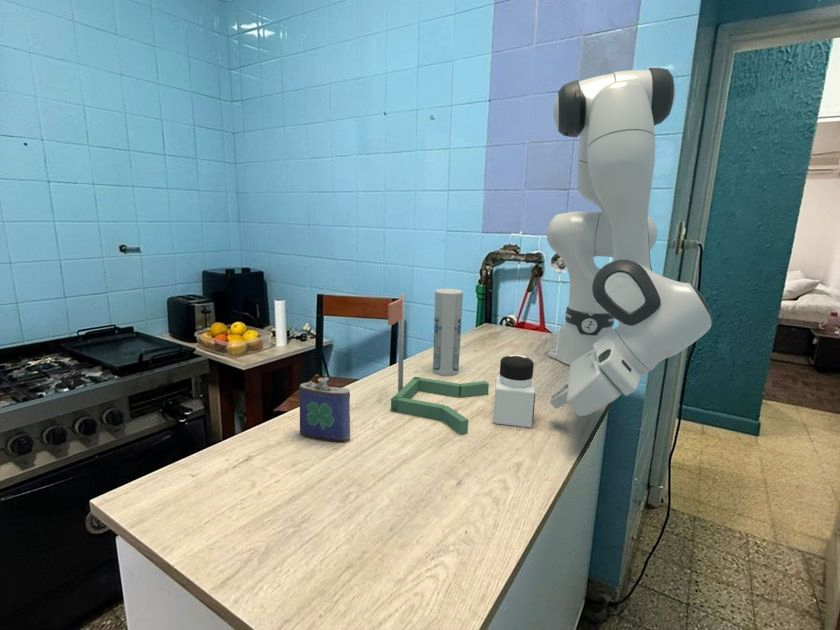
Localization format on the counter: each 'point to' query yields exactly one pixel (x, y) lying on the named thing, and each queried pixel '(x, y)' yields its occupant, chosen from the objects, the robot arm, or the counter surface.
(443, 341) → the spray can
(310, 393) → the flask
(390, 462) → the counter surface
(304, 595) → the counter surface
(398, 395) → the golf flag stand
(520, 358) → the medicine bottle
